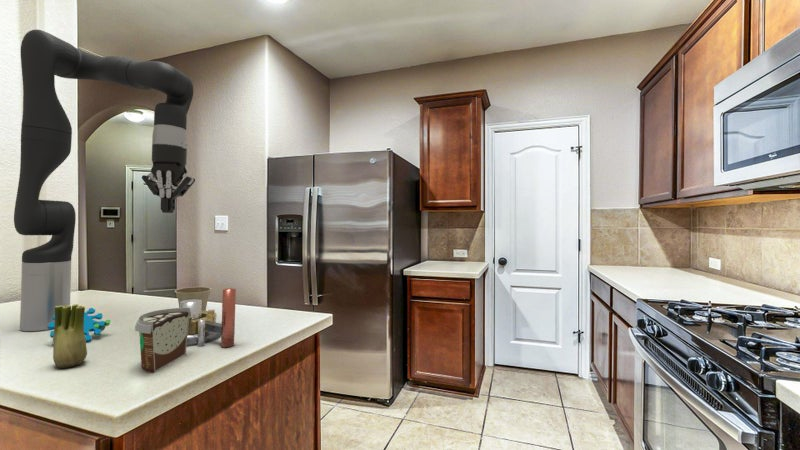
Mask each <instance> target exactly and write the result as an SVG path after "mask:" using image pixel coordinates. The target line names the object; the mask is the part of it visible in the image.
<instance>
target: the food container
mask: <svg viewBox="0 0 800 450" xmlns="http://www.w3.org/2000/svg"><path fill="white" fill-rule="evenodd" d="M189 317H191V311H190V308H179V307H174V308H165V309H164V308H163V309H159V310H153V311H150V312H146V313H143V314H142V315H140V316H138V319H137V320H136V323H135V327H134V331H136V332H138V333H139V335H138V336H139V348H140V350H139V351H140V361H141V362H140V363H141V370H142V371H143V372H144V371H145V372H147V373H154V374H155V373H156V372H158V371H160V370H162V369H163V368H165V367H167V366H168V365H170V364H172V363H174V362H175V360H176V361H177V360H179V359H181V358H182V357H184V356H186V355H187V347H188V346H187V335H188V325H189Z"/></svg>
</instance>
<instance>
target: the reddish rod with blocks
mask: <svg viewBox="0 0 800 450" xmlns="http://www.w3.org/2000/svg"><path fill="white" fill-rule="evenodd" d="M236 291H237V289H236V288H234V287H228V288H227V287H226V288H222V298H221V300H222V302H221V323H220V322H217V313H216V312H215V311H216V309H208V310H206V311H201V318H200V319H205V332H207V331H212V332H216V333H221V336H220V347H222V348H230V347H233V346H234V345H235V331H236V329H235V327H236V302H237V301H236V299H237V298H236V295H237V294H236V293H237V292H236ZM200 319H196V320H192V315H191V317H189V325H188V335H195V334H198V320H200Z"/></svg>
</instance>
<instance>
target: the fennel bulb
mask: <svg viewBox="0 0 800 450" xmlns="http://www.w3.org/2000/svg"><path fill="white" fill-rule="evenodd" d="M85 310H86V307H85V306H82V305H79V304H78V303H77V304H72V305H71V304H70V305H68V306H63V305H61V306H55V325H54V329H53V331H54V336H53V338H52V349H53V351H52V353H53V354H52V359H53V362H54V366H55V367H56V368H59V369H64V368H72V367H75V366H78V365H80V364H82V363H83V362H84V361H85V360H86V358H87V355H88V349H87V342H86V339H85V337H86V335H85V334H84V313H85V312H86V311H85Z"/></svg>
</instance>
